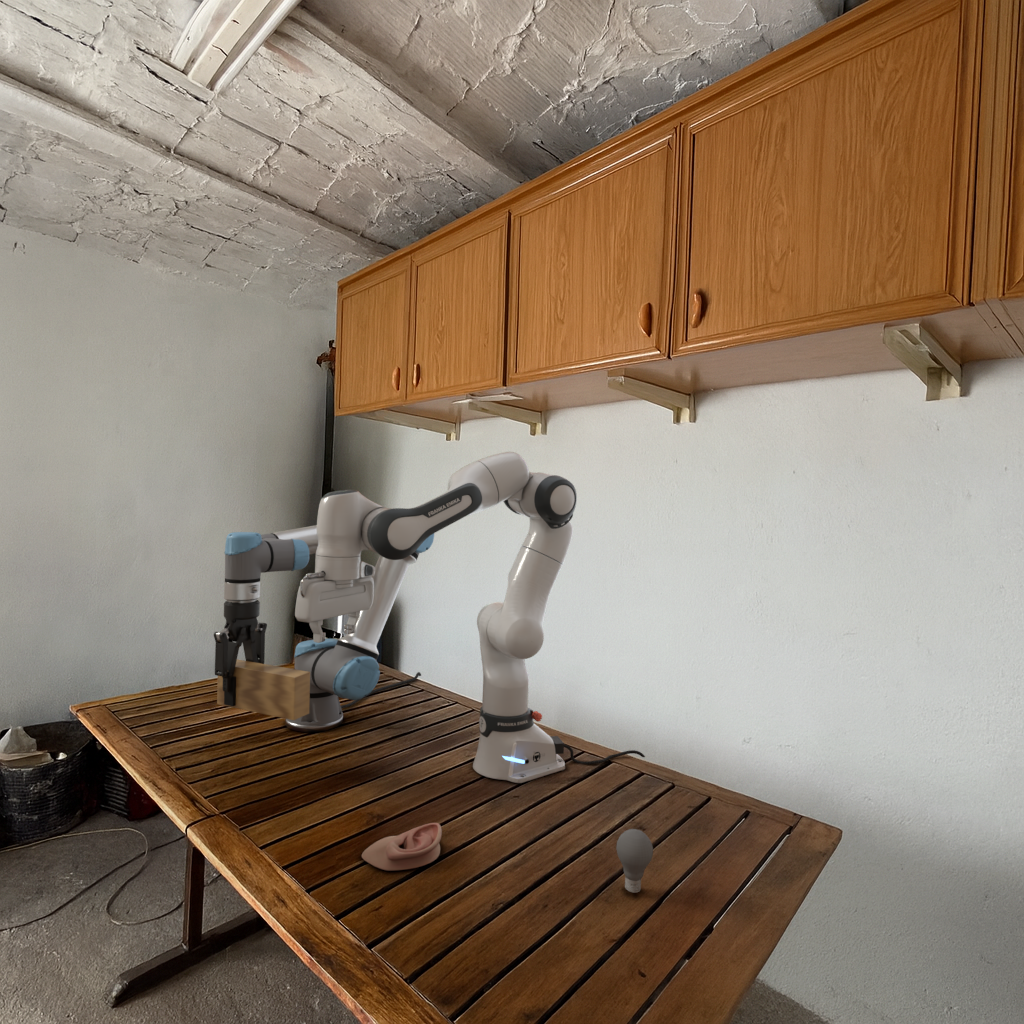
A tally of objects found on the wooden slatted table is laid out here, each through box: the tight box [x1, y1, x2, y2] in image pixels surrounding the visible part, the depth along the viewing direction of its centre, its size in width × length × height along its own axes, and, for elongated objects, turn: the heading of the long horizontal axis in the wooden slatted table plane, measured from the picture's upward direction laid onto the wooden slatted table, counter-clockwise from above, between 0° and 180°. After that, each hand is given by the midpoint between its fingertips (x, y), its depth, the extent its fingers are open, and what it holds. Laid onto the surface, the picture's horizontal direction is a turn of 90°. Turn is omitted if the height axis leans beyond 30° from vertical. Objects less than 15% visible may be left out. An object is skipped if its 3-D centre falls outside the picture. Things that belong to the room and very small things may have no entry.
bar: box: [216, 658, 310, 720], centre depth 142 cm, size 22×5×9 cm, turn 68°
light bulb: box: [615, 828, 654, 894], centre depth 106 cm, size 6×6×10 cm
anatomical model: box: [361, 822, 443, 872], centre depth 114 cm, size 13×4×12 cm
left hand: (239, 701), depth 145 cm, fingers closed on bar, 5 cm apart
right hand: (335, 637), depth 128 cm, fingers open, 8 cm apart
